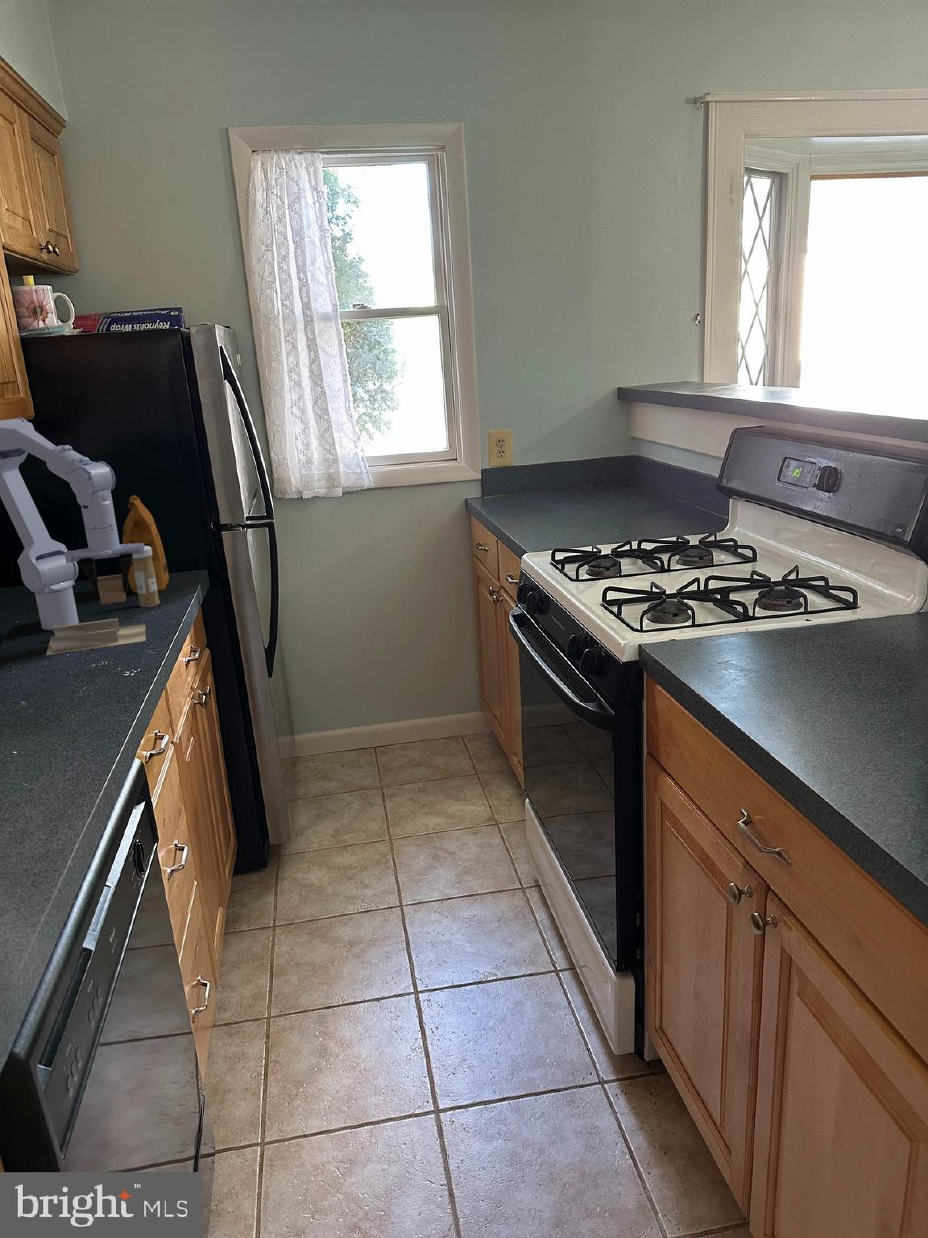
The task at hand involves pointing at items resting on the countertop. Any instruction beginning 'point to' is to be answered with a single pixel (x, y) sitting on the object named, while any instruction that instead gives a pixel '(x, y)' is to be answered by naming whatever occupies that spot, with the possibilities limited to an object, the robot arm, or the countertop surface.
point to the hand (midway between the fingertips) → (112, 593)
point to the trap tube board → (93, 636)
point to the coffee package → (145, 541)
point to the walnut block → (111, 589)
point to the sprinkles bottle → (145, 578)
